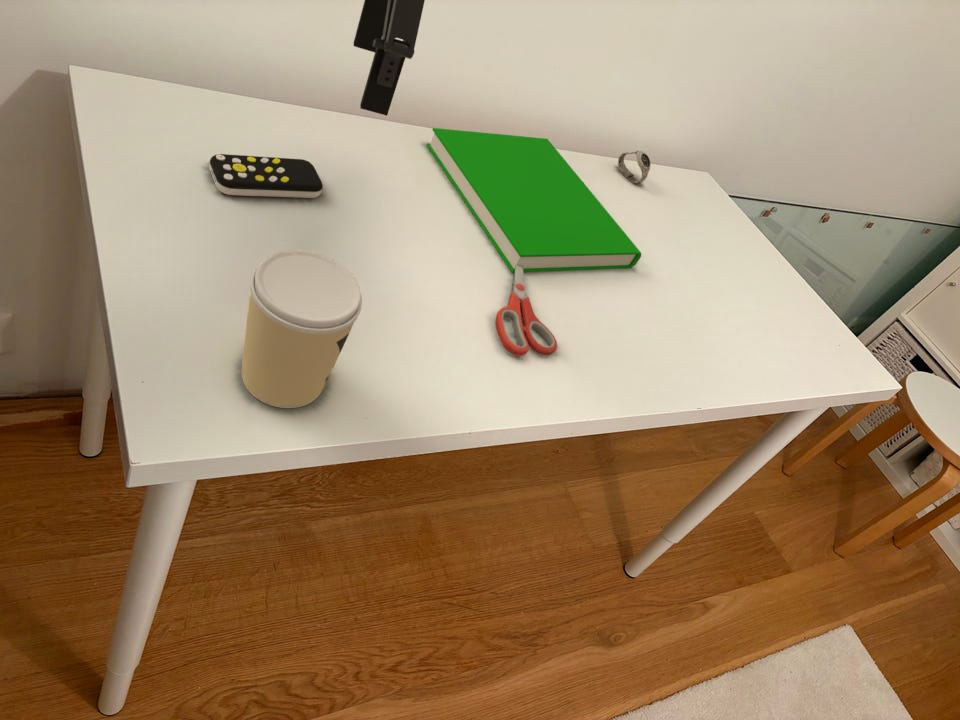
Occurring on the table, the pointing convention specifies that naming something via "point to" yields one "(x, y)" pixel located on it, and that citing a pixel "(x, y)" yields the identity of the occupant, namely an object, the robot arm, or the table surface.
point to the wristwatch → (642, 162)
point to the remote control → (265, 176)
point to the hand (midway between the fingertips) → (369, 77)
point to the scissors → (528, 319)
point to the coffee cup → (296, 326)
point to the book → (531, 203)
